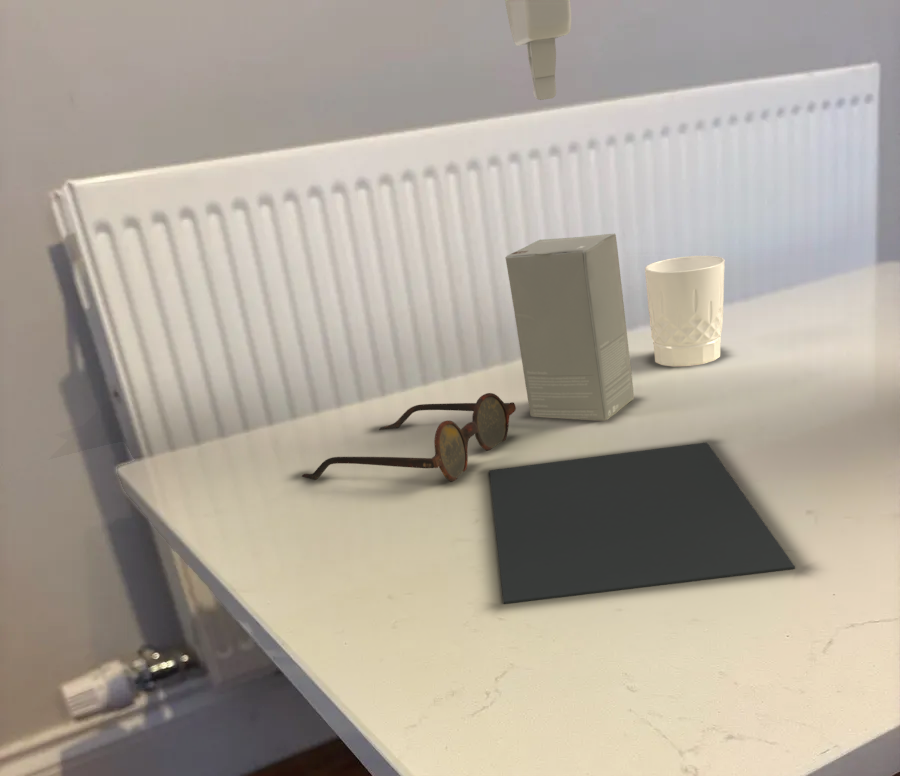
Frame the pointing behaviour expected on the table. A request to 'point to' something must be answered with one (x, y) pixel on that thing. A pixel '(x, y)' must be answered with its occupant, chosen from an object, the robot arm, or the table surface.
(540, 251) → the cosmetic box
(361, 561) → the table surface
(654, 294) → the white cup
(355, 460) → the eyeglasses
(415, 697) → the table surface
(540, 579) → the mat
